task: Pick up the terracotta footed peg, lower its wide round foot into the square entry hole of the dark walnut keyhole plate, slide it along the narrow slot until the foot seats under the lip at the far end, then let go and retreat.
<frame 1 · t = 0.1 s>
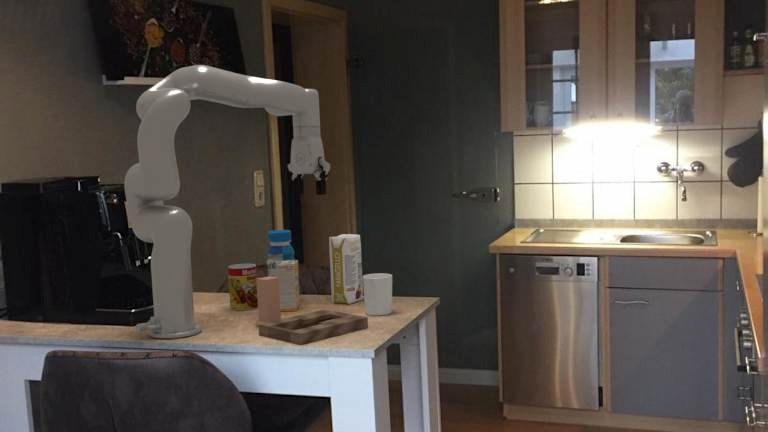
hand: (309, 194, 231), 31 cm above the table, tool pointing down, fingers open, 9 cm apart
white cup: (378, 313, 217), on the table
beverage bottle: (283, 298, 245), on the table
keyhole plate: (313, 331, 199), on the table
canned food: (244, 308, 232), on the table
supplement box: (290, 309, 228), on the table
juice carton: (347, 302, 235), on the table
footed peg: (270, 324, 208), on the table
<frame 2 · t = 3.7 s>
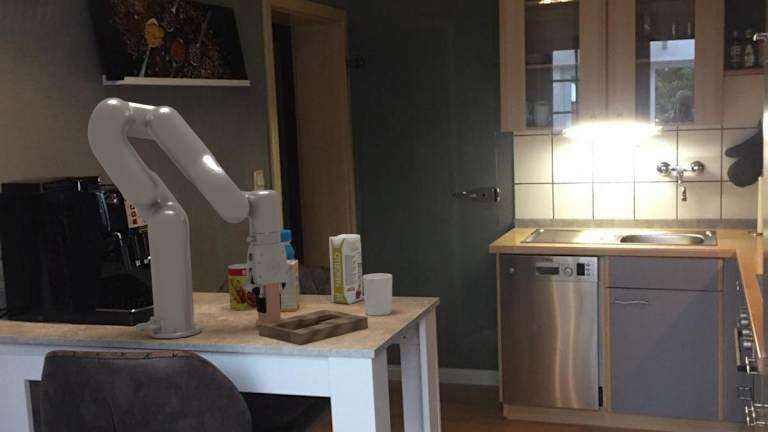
hand: (269, 310, 208), 4 cm above the table, tool pointing down, fingers closed on footed peg, 4 cm apart
footed peg: (269, 324, 208), on the table, touching gripper
everything else where it was.
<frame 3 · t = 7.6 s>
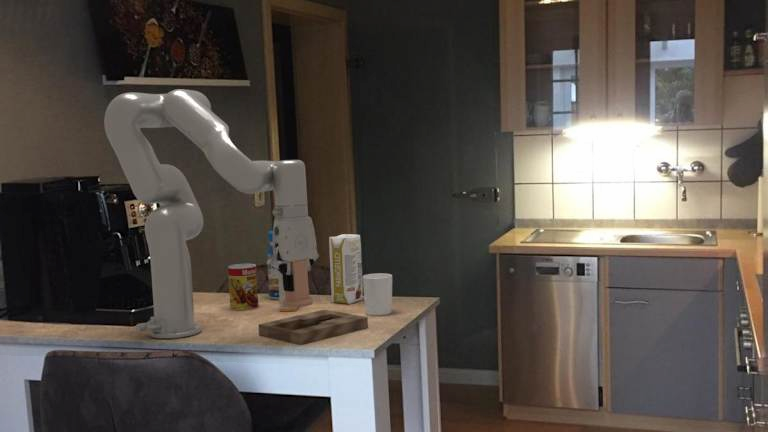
hand: (296, 288, 194), 11 cm above the table, tool pointing down, fingers closed on footed peg, 4 cm apart
footed peg: (297, 304, 195), point 8 cm above the table, touching gripper
everything else where it was.
when the fingers open (4 cm above the table, at t = 11.7 s): footed peg stays where it is, resting in keyhole plate.
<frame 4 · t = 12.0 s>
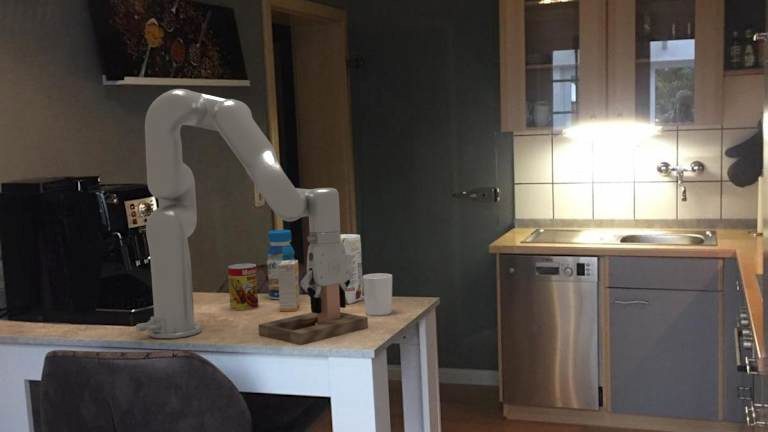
hand: (328, 309, 202), 4 cm above the table, tool pointing down, fingers open, 7 cm apart
footed peg: (329, 327, 202), resting in keyhole plate
everything else where it was.
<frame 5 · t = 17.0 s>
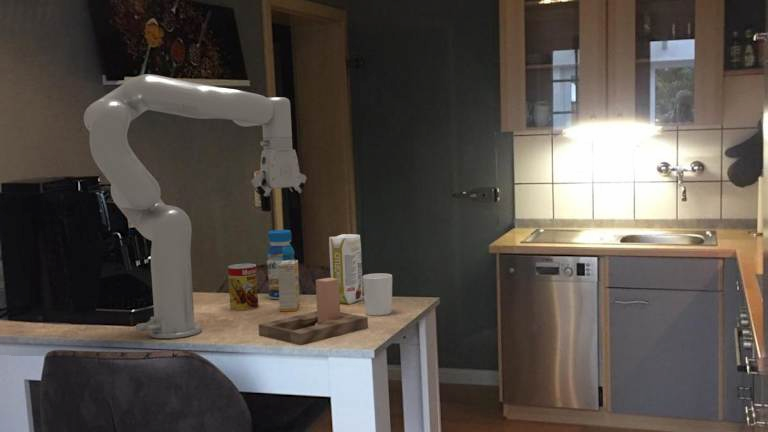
hand: (281, 209, 217), 28 cm above the table, tool pointing down, fingers open, 9 cm apart
nothing on the table moved.
at the end: footed peg 0.2 cm from the target spot on the keyhole plate, point 0.0 cm above the keyhole plate's base; footed peg tilted 0°; the gripper is holding nothing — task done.
